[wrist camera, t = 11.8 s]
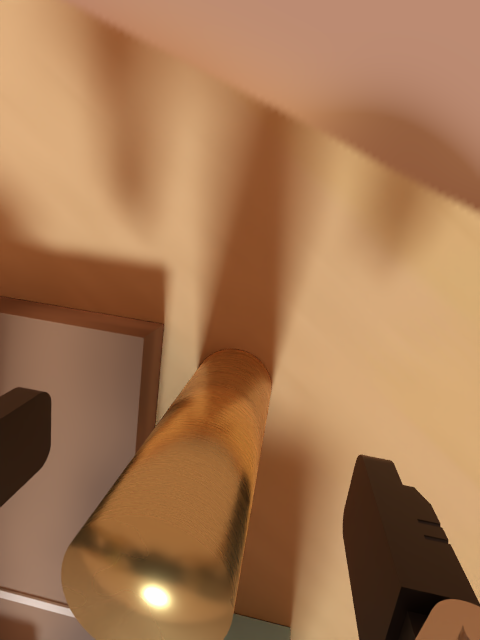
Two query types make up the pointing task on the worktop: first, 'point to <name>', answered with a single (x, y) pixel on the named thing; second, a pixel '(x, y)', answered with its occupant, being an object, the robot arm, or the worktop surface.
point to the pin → (176, 515)
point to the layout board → (69, 445)
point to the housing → (255, 630)
